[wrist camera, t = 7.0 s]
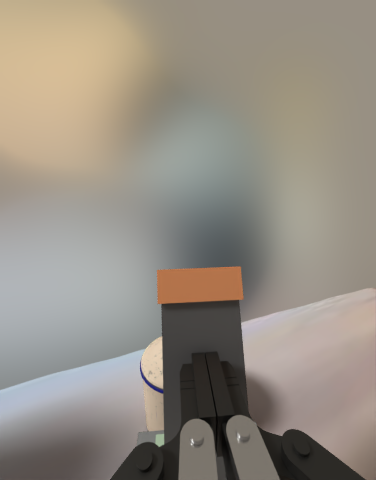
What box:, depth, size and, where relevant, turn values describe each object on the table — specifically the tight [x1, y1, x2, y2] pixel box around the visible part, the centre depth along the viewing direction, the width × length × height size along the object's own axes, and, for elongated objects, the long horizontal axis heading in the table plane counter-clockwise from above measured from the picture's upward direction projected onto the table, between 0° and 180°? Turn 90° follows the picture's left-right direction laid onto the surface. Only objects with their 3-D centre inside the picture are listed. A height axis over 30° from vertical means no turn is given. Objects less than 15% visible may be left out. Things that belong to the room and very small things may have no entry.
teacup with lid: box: [140, 336, 164, 431], centre depth 28 cm, size 12×9×12 cm
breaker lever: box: [157, 267, 249, 480], centre depth 13 cm, size 2×5×15 cm, turn 94°
